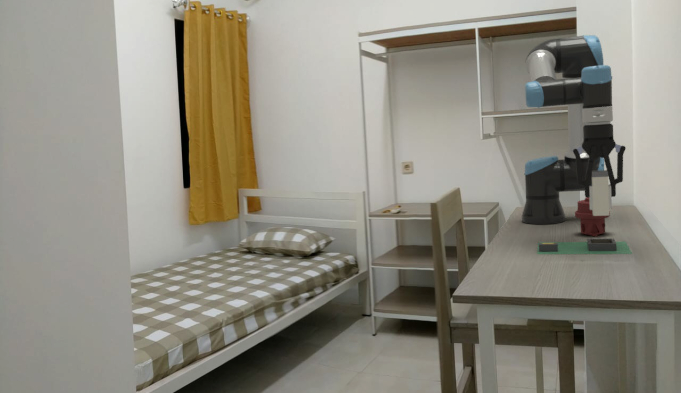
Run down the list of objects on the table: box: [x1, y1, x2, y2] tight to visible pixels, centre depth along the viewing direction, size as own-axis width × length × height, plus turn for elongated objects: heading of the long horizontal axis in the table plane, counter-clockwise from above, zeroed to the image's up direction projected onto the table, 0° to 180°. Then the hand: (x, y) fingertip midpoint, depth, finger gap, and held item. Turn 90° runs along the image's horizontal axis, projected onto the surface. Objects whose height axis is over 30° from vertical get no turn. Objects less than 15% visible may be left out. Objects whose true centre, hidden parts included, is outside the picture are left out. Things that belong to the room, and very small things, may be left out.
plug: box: [591, 169, 610, 216], centre depth 170 cm, size 4×4×12 cm
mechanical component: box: [574, 197, 611, 237], centre depth 191 cm, size 12×10×10 cm
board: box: [536, 238, 633, 255], centre depth 174 cm, size 16×24×3 cm, turn 71°
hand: (600, 208), depth 170 cm, fingers closed on plug, 4 cm apart
